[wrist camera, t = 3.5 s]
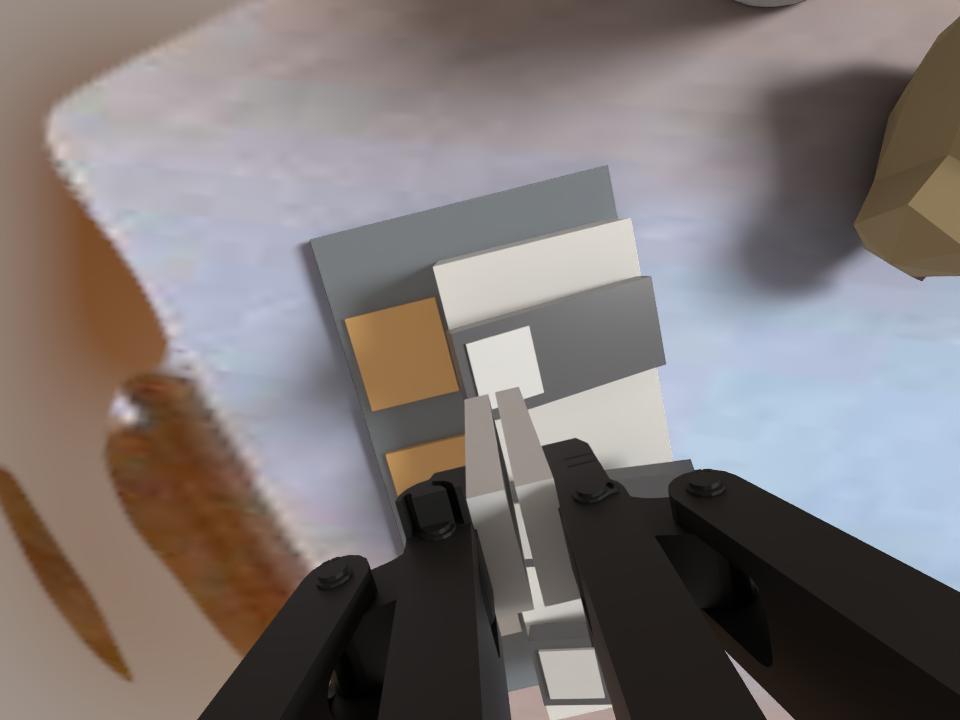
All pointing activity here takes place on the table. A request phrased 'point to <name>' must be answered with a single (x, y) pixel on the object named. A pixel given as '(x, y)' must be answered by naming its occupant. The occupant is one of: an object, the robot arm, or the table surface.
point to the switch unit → (475, 297)
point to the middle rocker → (636, 482)
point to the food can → (769, 2)
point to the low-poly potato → (920, 171)
